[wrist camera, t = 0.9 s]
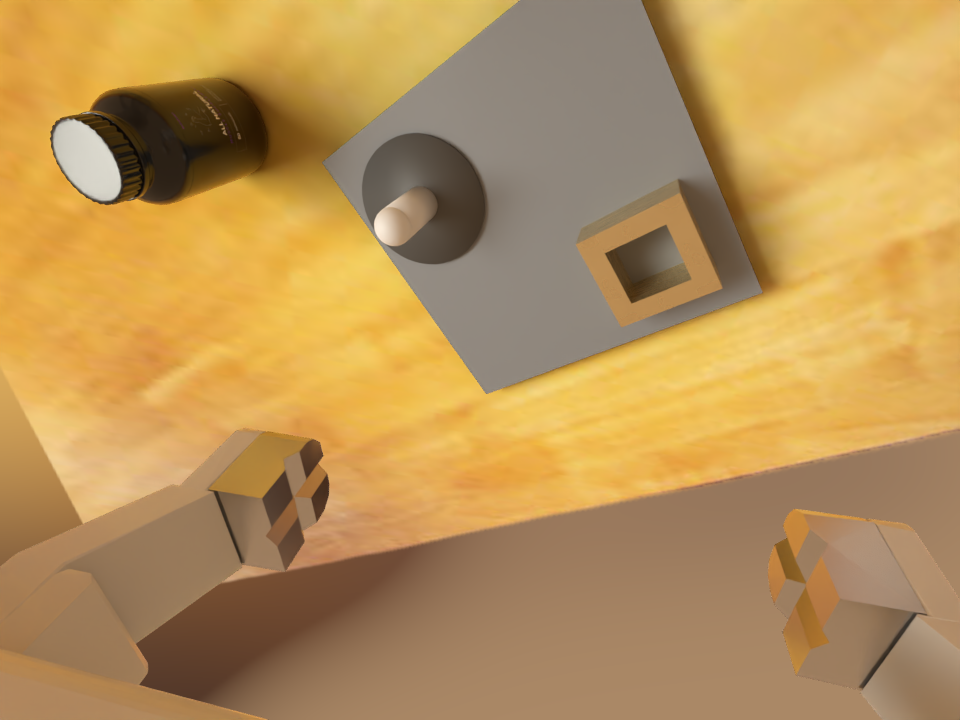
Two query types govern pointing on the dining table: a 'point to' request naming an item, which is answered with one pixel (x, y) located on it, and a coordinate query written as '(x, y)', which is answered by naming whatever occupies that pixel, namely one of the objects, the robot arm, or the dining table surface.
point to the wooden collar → (663, 287)
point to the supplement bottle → (160, 141)
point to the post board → (537, 185)
